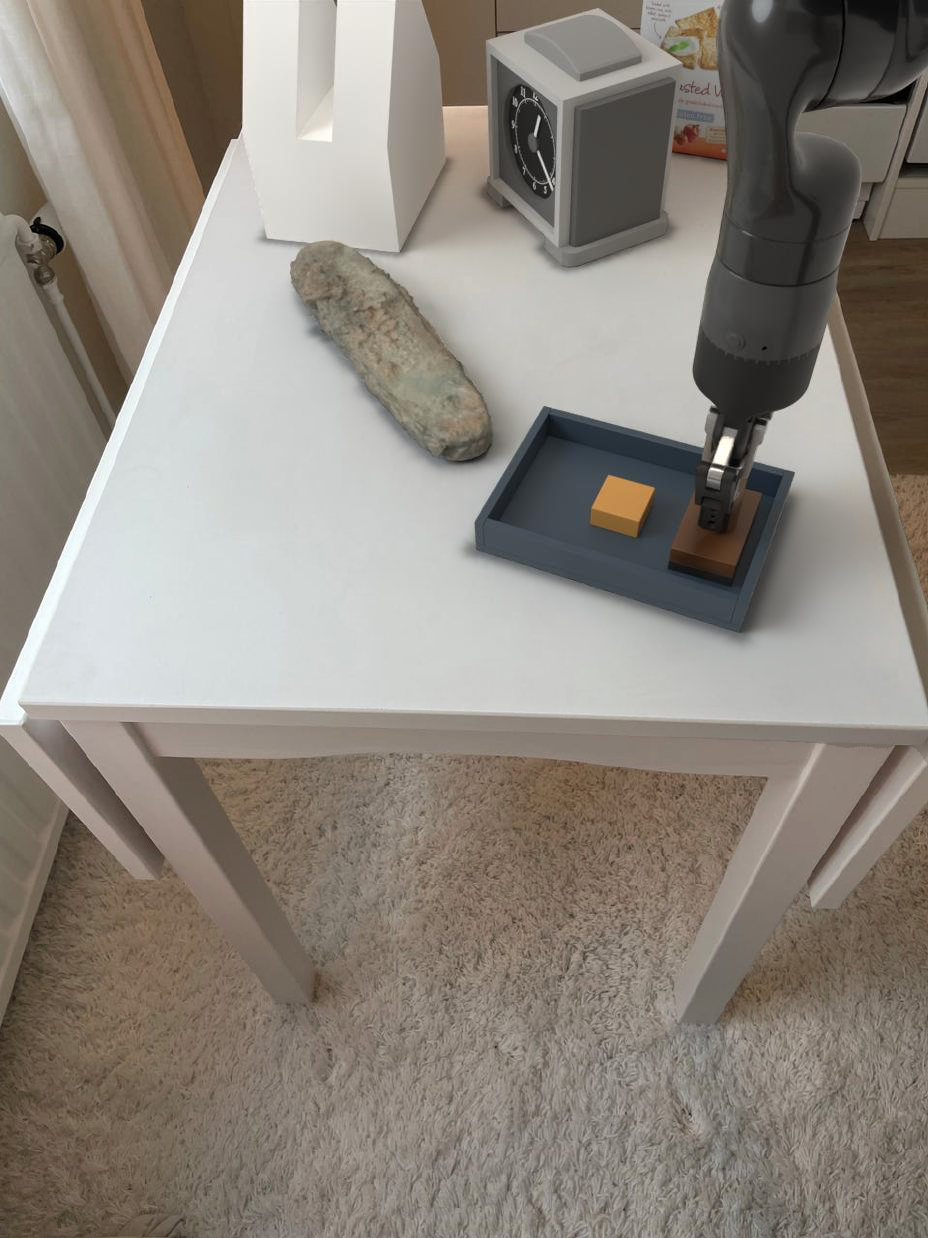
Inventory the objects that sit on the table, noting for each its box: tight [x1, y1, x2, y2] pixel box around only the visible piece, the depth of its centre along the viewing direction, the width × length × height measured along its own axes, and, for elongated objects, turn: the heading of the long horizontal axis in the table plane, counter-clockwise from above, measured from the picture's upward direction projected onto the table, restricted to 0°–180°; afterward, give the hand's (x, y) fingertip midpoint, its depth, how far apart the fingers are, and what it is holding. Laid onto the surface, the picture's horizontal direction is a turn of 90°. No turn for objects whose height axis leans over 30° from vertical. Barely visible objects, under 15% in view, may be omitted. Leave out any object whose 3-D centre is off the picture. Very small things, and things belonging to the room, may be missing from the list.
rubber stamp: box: [668, 455, 762, 586], centre depth 72 cm, size 5×8×8 cm, turn 156°
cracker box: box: [639, 0, 727, 161], centre depth 105 cm, size 14×6×21 cm, turn 68°
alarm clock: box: [485, 7, 683, 268], centre depth 99 cm, size 18×13×18 cm
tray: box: [473, 405, 796, 633], centre depth 77 cm, size 22×15×3 cm
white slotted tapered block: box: [241, 0, 447, 254], centre depth 100 cm, size 19×15×25 cm
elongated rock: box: [289, 240, 494, 462], centre depth 91 cm, size 35×5×10 cm
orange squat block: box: [590, 475, 655, 538], centre depth 77 cm, size 4×4×2 cm
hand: (719, 510), depth 73 cm, fingers closed on rubber stamp, 3 cm apart
